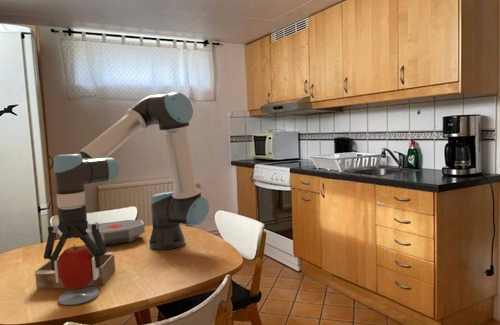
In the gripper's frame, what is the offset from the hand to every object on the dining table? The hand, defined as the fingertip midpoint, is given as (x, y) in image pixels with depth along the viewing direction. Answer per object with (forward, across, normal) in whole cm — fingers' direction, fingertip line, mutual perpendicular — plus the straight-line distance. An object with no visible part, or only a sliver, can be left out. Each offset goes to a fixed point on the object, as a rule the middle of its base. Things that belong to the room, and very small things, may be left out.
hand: (77, 279), depth 109 cm
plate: (+6, 0, 0) cm, 6 cm away
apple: (+3, 0, 0) cm, 3 cm away
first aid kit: (+6, +6, -59) cm, 60 cm away
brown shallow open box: (+6, +6, -15) cm, 17 cm away
